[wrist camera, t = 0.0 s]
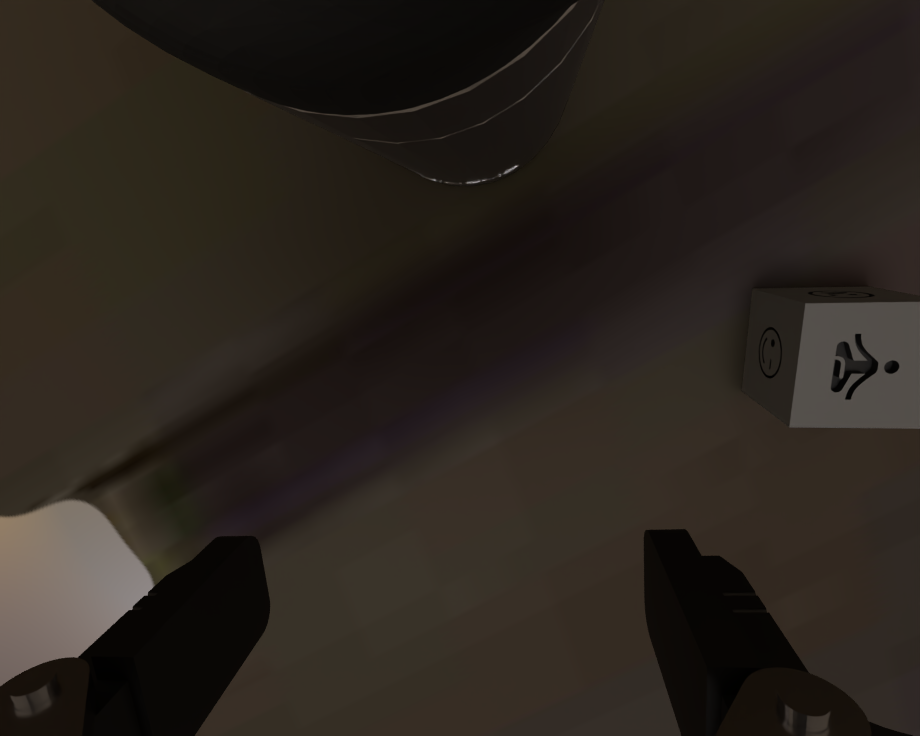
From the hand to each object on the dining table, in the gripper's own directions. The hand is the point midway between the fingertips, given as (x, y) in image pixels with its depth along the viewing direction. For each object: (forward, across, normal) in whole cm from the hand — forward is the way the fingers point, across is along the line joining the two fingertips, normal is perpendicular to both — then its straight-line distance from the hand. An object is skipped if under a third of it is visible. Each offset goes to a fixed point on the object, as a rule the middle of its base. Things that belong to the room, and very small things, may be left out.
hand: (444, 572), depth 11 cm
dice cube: (+18, -15, -1) cm, 23 cm away
